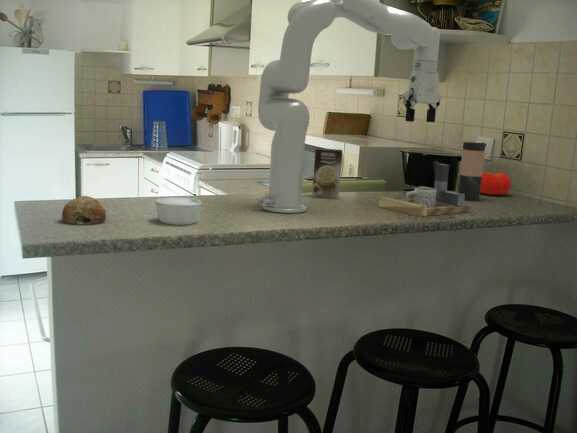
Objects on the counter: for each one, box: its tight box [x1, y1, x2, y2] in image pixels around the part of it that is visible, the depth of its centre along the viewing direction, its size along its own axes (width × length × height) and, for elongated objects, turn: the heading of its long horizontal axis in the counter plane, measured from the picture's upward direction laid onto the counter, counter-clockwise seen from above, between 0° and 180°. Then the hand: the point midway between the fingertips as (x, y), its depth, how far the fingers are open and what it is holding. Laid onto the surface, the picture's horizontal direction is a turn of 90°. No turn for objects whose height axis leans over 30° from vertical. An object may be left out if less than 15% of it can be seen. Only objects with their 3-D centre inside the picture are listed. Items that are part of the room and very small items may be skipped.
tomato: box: [480, 171, 512, 197], centre depth 240 cm, size 13×12×8 cm
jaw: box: [420, 163, 465, 206], centre depth 199 cm, size 3×17×12 cm, turn 35°
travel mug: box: [457, 141, 486, 202], centre depth 222 cm, size 8×8×20 cm
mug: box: [404, 186, 437, 208], centre depth 194 cm, size 10×7×7 cm
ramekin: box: [155, 197, 202, 226], centre depth 157 cm, size 11×11×5 cm
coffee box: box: [311, 147, 343, 200], centre depth 210 cm, size 9×6×16 cm
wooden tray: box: [378, 196, 474, 218], centre depth 196 cm, size 24×17×3 cm
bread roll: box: [61, 195, 107, 226], centre depth 151 cm, size 10×10×8 cm
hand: (420, 121), depth 204 cm, fingers open, 9 cm apart
